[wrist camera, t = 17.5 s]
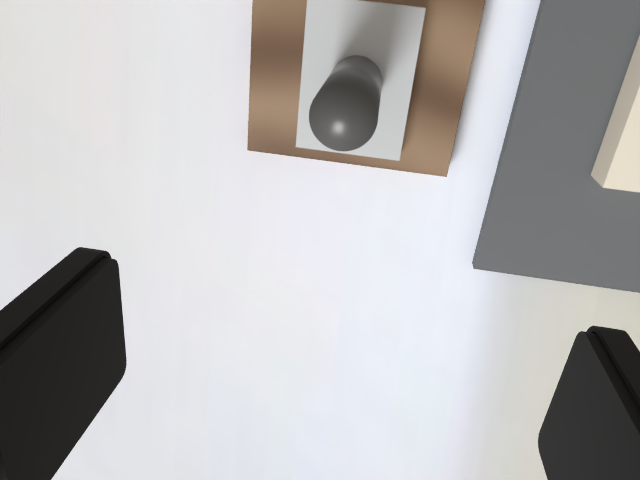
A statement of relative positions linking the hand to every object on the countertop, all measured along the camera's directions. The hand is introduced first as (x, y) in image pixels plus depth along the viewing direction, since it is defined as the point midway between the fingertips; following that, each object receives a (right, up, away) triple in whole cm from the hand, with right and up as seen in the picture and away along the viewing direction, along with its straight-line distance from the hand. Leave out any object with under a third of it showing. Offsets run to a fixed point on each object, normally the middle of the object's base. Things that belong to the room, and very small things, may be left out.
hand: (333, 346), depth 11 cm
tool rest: (+2, +12, +20) cm, 23 cm away
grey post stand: (+2, +11, +18) cm, 22 cm away
